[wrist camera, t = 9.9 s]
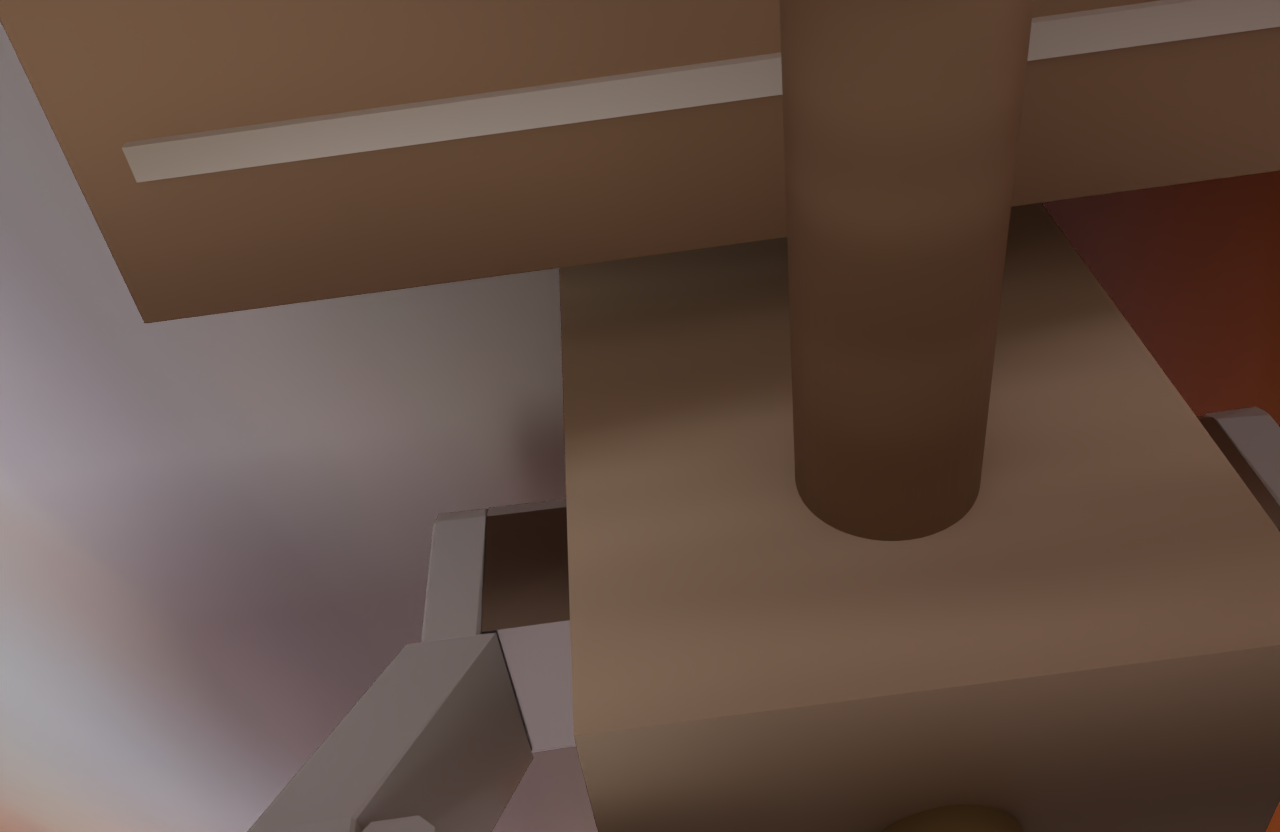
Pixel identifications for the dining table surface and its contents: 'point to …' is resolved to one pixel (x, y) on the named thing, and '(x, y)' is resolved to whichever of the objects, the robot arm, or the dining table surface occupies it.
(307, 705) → the dining table surface
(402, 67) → the plank
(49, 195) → the dining table surface
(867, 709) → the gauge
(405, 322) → the dining table surface
